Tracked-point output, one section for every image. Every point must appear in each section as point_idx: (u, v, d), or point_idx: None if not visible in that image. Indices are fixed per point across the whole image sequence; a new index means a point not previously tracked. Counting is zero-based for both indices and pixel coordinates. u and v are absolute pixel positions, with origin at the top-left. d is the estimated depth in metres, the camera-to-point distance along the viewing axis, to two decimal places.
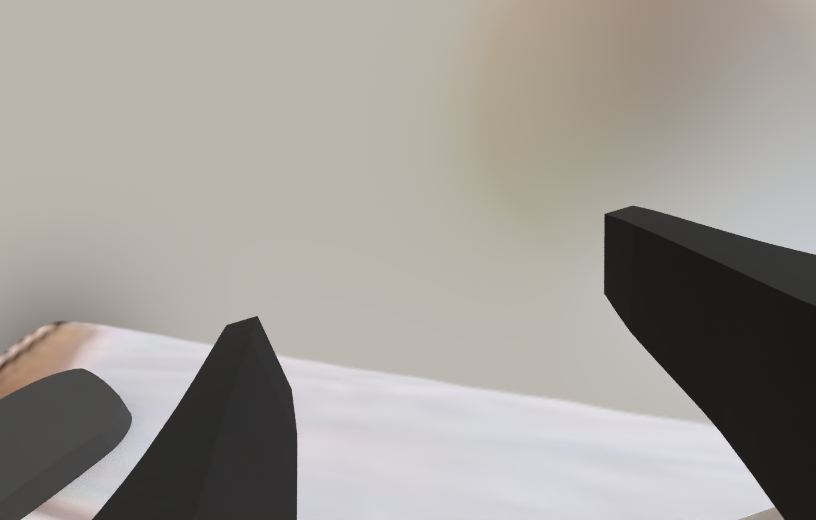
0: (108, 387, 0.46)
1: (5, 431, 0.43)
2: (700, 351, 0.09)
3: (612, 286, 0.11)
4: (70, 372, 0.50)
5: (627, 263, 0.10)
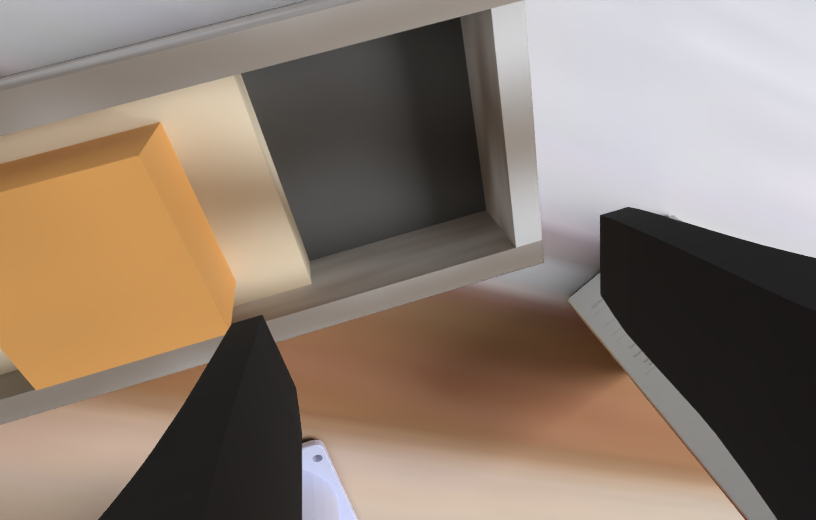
0: None
1: None
2: (695, 353, 0.09)
3: (608, 287, 0.11)
4: None
5: (622, 265, 0.10)
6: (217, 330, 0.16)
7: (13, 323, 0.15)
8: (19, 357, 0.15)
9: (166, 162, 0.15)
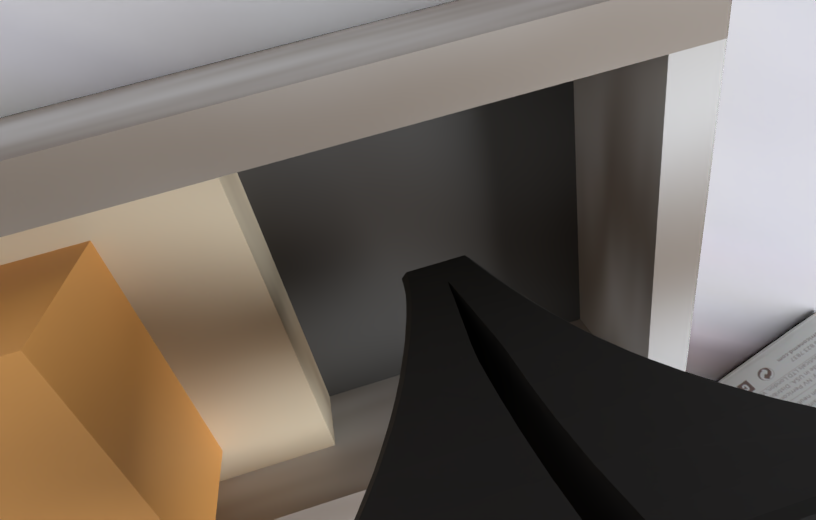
0: None
1: None
2: None
3: None
4: None
5: None
6: None
7: None
8: None
9: (97, 318, 0.09)
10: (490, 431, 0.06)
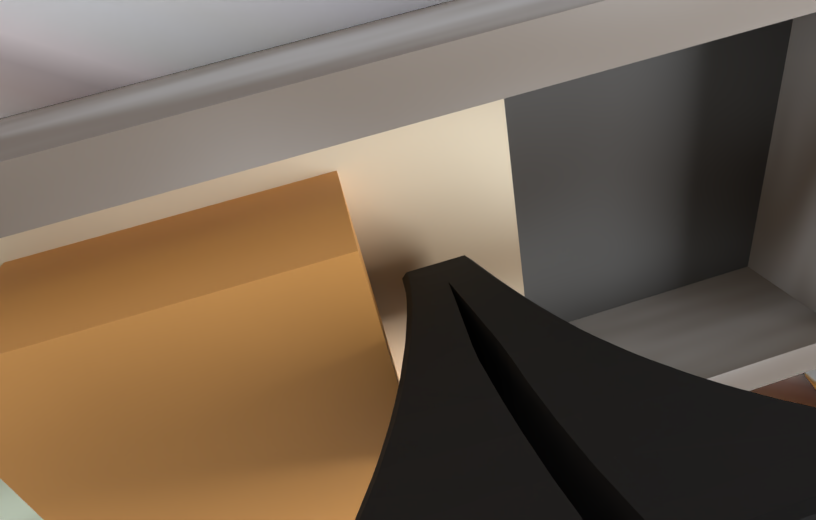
0: None
1: None
2: None
3: None
4: None
5: None
6: None
7: (105, 519, 0.09)
8: None
9: (357, 241, 0.09)
10: (490, 431, 0.06)
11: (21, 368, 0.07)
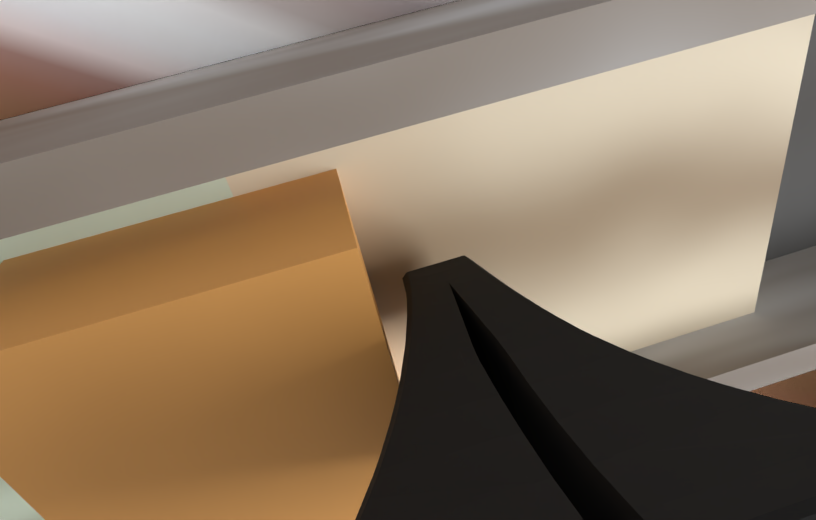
0: None
1: None
2: None
3: None
4: None
5: None
6: None
7: (104, 516, 0.09)
8: None
9: (356, 239, 0.09)
10: (491, 431, 0.06)
11: (20, 365, 0.07)
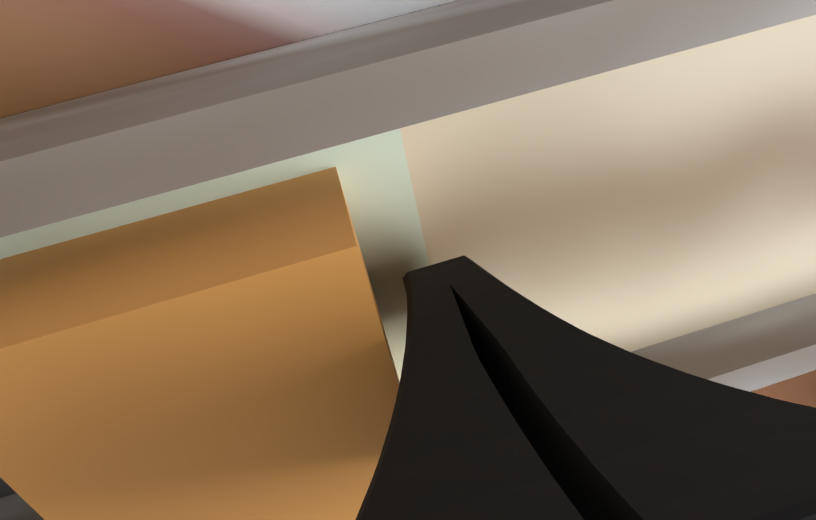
0: None
1: None
2: None
3: None
4: None
5: None
6: None
7: (102, 516, 0.09)
8: None
9: (356, 237, 0.09)
10: (492, 430, 0.06)
11: (18, 364, 0.07)
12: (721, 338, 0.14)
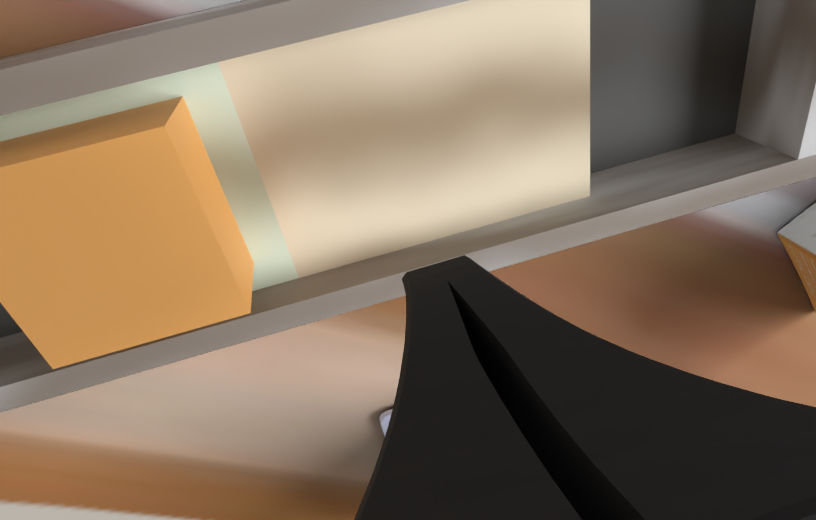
0: None
1: None
2: None
3: None
4: None
5: None
6: (237, 309, 0.16)
7: (31, 298, 0.14)
8: (36, 334, 0.15)
9: (189, 137, 0.15)
10: (490, 431, 0.06)
11: None
12: (482, 233, 0.19)
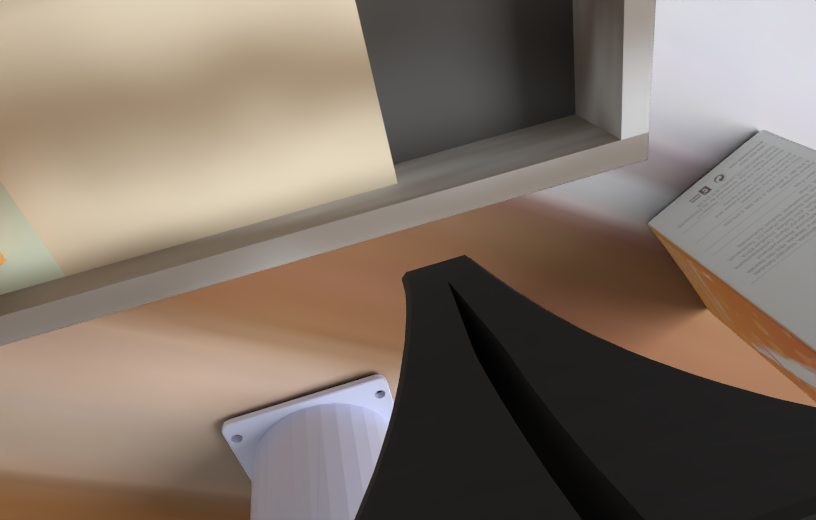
0: None
1: None
2: None
3: None
4: None
5: None
6: None
7: None
8: None
9: None
10: (490, 431, 0.06)
11: None
12: (270, 225, 0.18)
